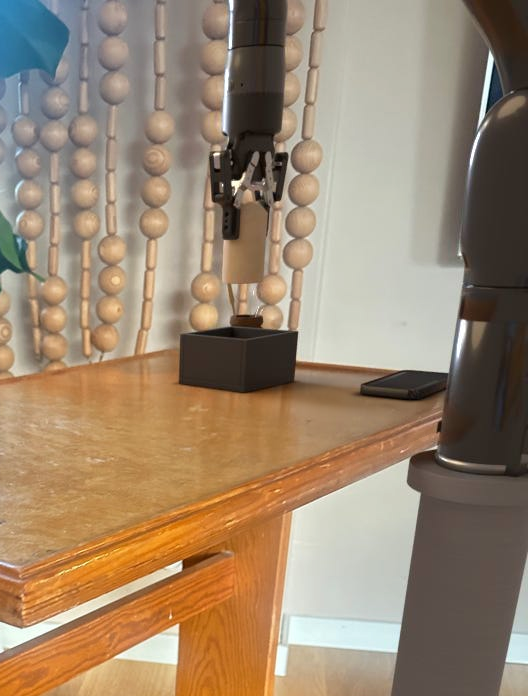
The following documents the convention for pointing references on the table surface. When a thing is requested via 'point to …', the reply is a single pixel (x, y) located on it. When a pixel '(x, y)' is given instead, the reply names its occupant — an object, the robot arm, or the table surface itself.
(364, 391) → the phone
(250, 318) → the utensil holder
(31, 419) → the table surface
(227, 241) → the candle
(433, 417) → the table surface
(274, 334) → the bin
